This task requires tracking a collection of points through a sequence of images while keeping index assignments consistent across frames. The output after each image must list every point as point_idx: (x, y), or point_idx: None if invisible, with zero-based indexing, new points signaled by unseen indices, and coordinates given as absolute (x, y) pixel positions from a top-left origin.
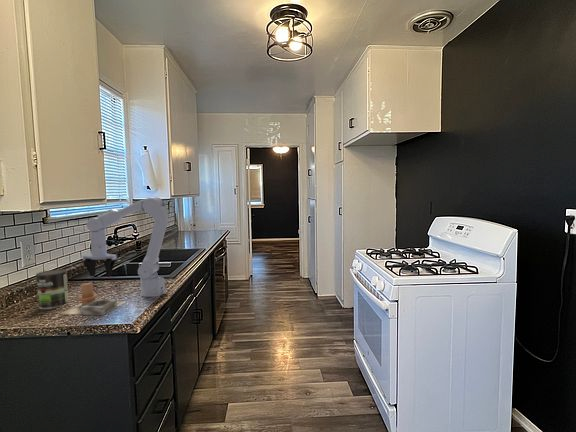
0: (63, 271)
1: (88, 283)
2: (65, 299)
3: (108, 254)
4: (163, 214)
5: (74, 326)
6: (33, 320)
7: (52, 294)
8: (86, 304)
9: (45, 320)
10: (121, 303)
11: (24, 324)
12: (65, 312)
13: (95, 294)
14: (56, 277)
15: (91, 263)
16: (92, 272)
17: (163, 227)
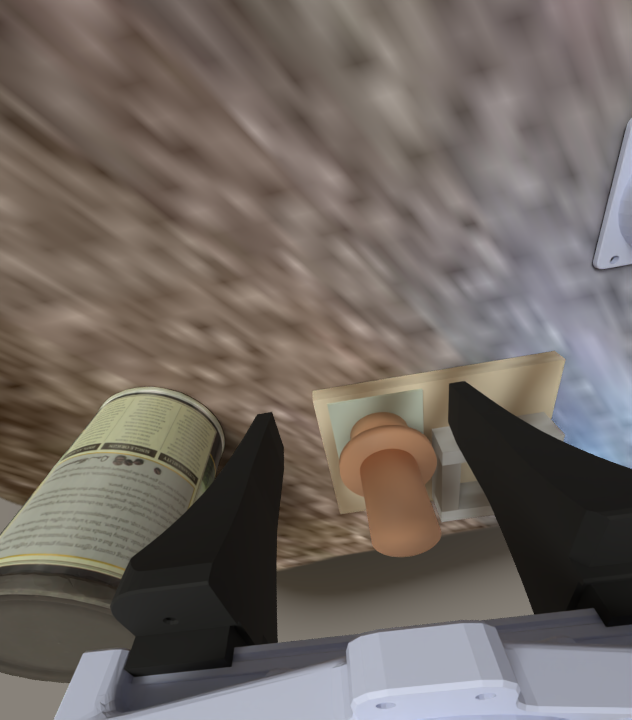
0: (104, 611)
1: (404, 529)
2: (210, 441)
3: (629, 704)
4: None
5: (467, 529)
6: (277, 532)
7: None
8: (443, 502)
9: (320, 525)
10: (551, 385)
11: (284, 550)
12: (354, 502)
13: (410, 443)
14: None
15: (259, 579)
16: (275, 466)
17: None
